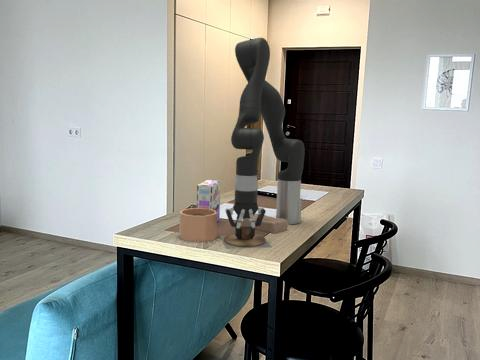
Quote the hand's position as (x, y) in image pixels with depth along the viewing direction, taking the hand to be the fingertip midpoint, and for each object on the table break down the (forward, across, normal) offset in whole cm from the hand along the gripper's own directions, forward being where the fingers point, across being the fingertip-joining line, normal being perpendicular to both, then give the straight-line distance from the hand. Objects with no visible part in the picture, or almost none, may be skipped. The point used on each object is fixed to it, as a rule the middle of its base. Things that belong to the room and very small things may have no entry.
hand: (244, 238), depth 157 cm
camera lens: (+2, +15, -8) cm, 17 cm away
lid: (+1, 0, 0) cm, 1 cm away
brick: (+2, -11, -17) cm, 20 cm away
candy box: (+2, +9, -26) cm, 28 cm away
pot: (+1, +15, -8) cm, 17 cm away
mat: (+1, 0, 0) cm, 1 cm away
